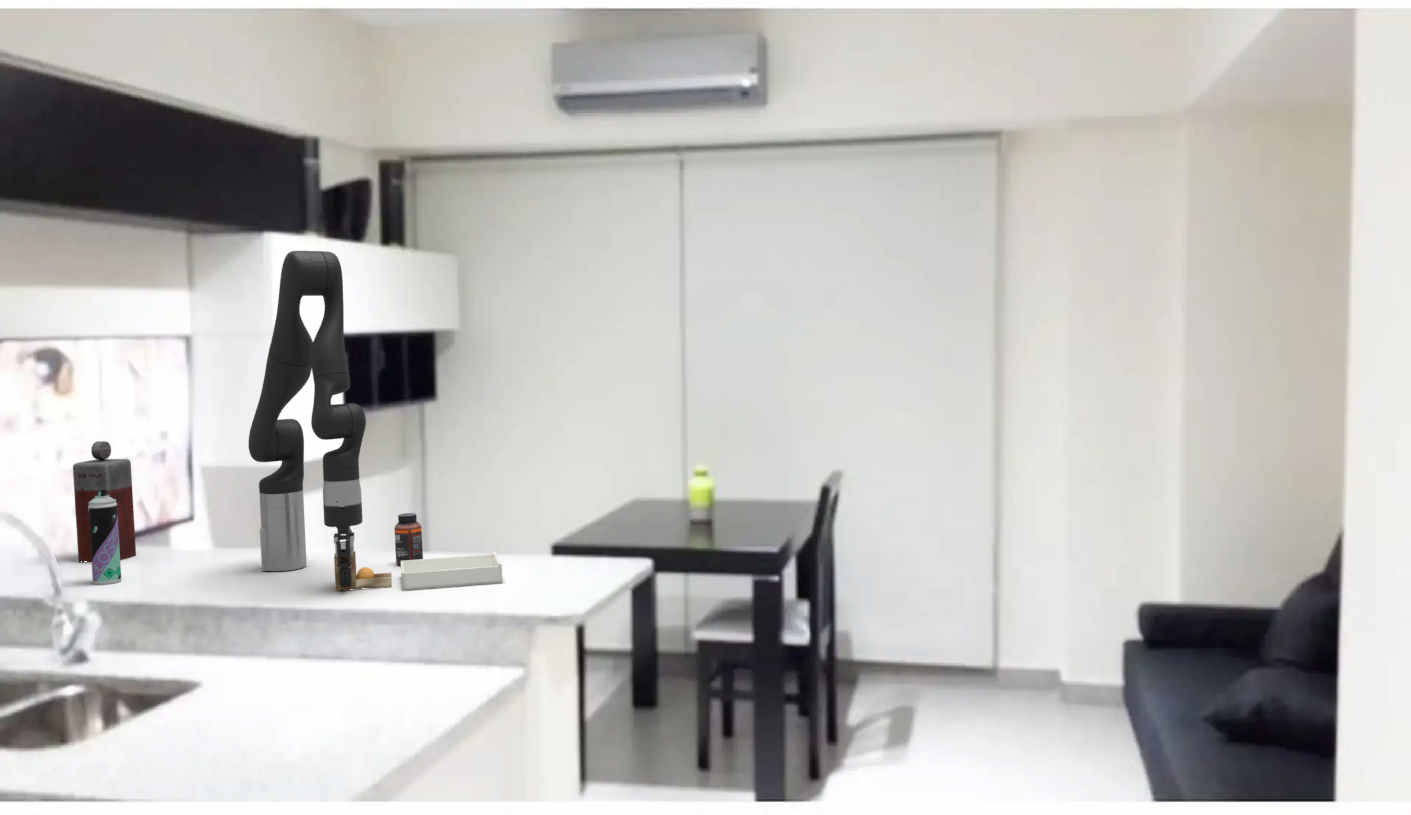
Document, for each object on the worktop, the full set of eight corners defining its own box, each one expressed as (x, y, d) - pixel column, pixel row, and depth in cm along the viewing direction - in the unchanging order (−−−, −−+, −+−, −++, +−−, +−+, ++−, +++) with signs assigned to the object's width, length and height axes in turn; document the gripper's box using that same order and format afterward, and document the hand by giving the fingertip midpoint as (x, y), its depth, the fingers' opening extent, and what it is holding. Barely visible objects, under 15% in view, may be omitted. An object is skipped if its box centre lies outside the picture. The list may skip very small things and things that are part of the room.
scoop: (335, 591, 243) (334, 557, 242) (336, 586, 247) (335, 552, 247) (391, 586, 245) (390, 553, 245) (391, 582, 250) (390, 548, 250)
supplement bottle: (426, 561, 272) (424, 511, 271) (418, 566, 266) (416, 516, 265) (401, 561, 272) (399, 512, 272) (392, 566, 266) (389, 516, 266)
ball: (366, 589, 245) (353, 579, 244) (366, 584, 248) (353, 575, 247) (377, 576, 245) (364, 566, 244) (377, 571, 248) (363, 562, 247)
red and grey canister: (94, 554, 289) (87, 439, 287) (136, 555, 287) (130, 439, 285) (69, 562, 281) (61, 443, 279) (112, 562, 279) (105, 443, 277)
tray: (402, 590, 242) (401, 571, 241) (401, 576, 255) (400, 558, 255) (502, 583, 247) (501, 563, 246) (496, 569, 260) (495, 551, 260)
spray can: (92, 586, 253) (87, 492, 252) (92, 581, 258) (87, 489, 257) (121, 582, 256) (116, 490, 254) (121, 578, 261) (115, 487, 259)
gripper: (324, 498, 250) (328, 578, 251) (321, 507, 236) (325, 592, 238) (362, 495, 252) (365, 575, 253) (360, 505, 238) (364, 589, 239)
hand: (346, 583), depth 245 cm, fingers closed on scoop, 5 cm apart
